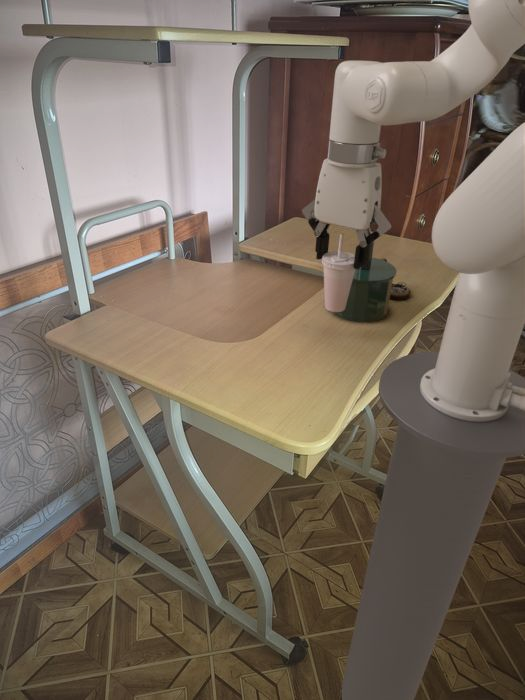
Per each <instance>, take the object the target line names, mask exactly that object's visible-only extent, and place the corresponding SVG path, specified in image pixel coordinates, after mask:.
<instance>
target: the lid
mask: <svg viewBox="0 0 525 700" xmlns="http://www.w3.org/2000/svg"><path fill="white" fill-rule="evenodd" d="M374 246H375V240H374V241H373V242H371V243H370V244H369V251H368V258H367V262H366V263H365V264H364V265H363V266H361V267H360V268H359V269H355V273H354V277H353V281H356V282H362V283H380V282H385V281H389V280H391V279H393V280H394V278H395V277H396V276H397V267H395V266H394V264H392V263H390V262H388V261H387V262H386V261H384V260H381V258H377V257H373V255H374Z"/></svg>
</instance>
